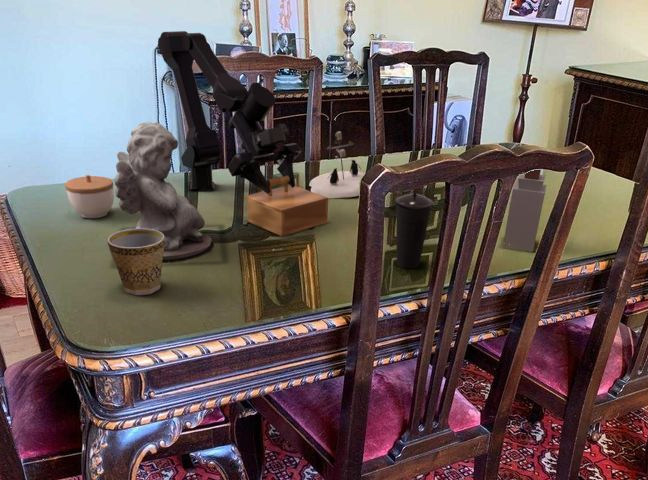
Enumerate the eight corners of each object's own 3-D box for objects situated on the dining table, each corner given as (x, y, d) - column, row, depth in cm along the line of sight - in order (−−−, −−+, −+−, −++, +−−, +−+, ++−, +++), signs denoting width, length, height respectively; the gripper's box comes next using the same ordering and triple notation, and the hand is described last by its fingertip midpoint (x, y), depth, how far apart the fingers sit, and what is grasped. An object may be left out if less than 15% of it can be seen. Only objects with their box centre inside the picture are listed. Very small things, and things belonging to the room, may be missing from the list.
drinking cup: (430, 261, 137) (441, 167, 126) (419, 274, 131) (430, 176, 120) (397, 254, 139) (405, 162, 129) (384, 266, 133) (392, 170, 123)
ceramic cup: (171, 296, 118) (166, 245, 113) (114, 301, 115) (106, 249, 110) (167, 268, 128) (161, 221, 123) (115, 273, 126) (107, 224, 121)
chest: (248, 221, 154) (247, 199, 151) (293, 209, 163) (293, 188, 160) (281, 236, 146) (281, 213, 143) (327, 222, 155) (328, 201, 152)
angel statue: (114, 267, 128) (94, 139, 115) (124, 228, 147) (107, 115, 134) (225, 262, 132) (218, 138, 119) (221, 225, 151) (214, 115, 138)
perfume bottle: (534, 242, 149) (550, 164, 140) (532, 252, 143) (549, 172, 134) (505, 237, 151) (519, 161, 141) (502, 247, 145) (516, 168, 136)
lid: (245, 198, 151) (244, 179, 149) (291, 187, 160) (291, 169, 158) (281, 213, 143) (281, 193, 141) (328, 200, 152) (328, 181, 150)
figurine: (357, 172, 190) (355, 116, 181) (391, 190, 177) (391, 130, 168) (297, 187, 182) (292, 129, 173) (329, 206, 169) (325, 145, 160)
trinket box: (124, 208, 159) (118, 170, 154) (106, 223, 150) (100, 183, 145) (82, 205, 159) (76, 168, 155) (62, 219, 150) (54, 180, 145)
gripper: (233, 117, 141) (265, 178, 140) (296, 108, 152) (327, 164, 151) (214, 146, 150) (245, 204, 149) (275, 136, 161) (304, 189, 160)
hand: (281, 189), depth 152 cm, fingers open, 7 cm apart
